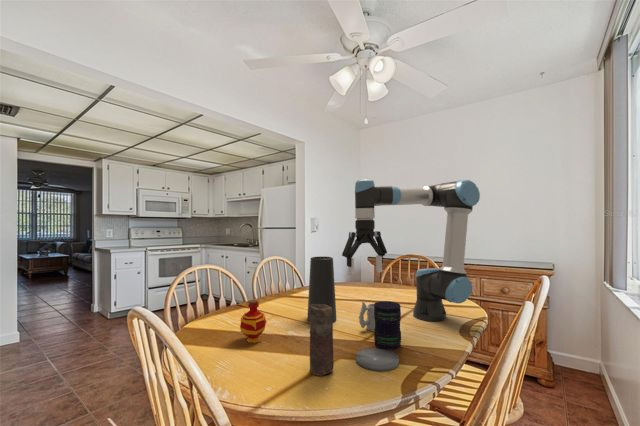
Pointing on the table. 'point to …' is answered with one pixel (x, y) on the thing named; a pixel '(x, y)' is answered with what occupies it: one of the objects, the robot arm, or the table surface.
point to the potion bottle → (253, 322)
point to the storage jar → (387, 325)
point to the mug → (370, 317)
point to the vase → (322, 284)
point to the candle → (321, 339)
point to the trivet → (377, 359)
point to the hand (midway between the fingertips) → (365, 273)
